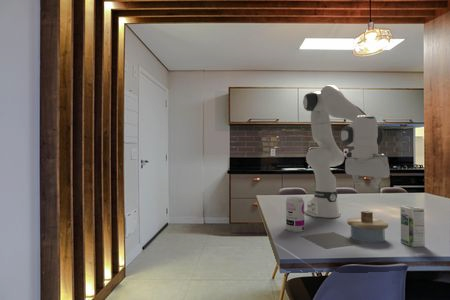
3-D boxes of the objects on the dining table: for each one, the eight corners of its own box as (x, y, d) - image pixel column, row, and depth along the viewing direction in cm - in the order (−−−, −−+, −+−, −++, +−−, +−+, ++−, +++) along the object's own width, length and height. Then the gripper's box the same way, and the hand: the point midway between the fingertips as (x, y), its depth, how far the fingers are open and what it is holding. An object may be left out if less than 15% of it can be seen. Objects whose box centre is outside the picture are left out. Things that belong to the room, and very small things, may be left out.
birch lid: (339, 221, 118) (339, 209, 118) (367, 219, 122) (366, 207, 122) (366, 230, 103) (366, 217, 104) (397, 227, 108) (396, 214, 108)
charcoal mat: (300, 237, 116) (300, 235, 116) (333, 233, 121) (333, 232, 121) (325, 250, 100) (325, 248, 100) (363, 245, 105) (363, 243, 105)
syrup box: (400, 242, 108) (399, 205, 108) (414, 241, 108) (413, 205, 109) (411, 247, 102) (410, 208, 103) (425, 246, 103) (424, 208, 103)
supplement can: (304, 229, 129) (304, 197, 129) (304, 233, 121) (303, 200, 122) (287, 227, 132) (287, 196, 132) (285, 232, 124) (285, 199, 124)
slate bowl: (344, 236, 117) (344, 222, 117) (367, 233, 120) (367, 220, 120) (367, 245, 105) (366, 229, 105) (391, 241, 109) (391, 226, 109)
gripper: (393, 154, 104) (394, 190, 104) (354, 153, 124) (354, 184, 124) (380, 154, 102) (381, 190, 102) (342, 153, 122) (342, 184, 122)
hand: (366, 187), depth 113 cm, fingers open, 8 cm apart
